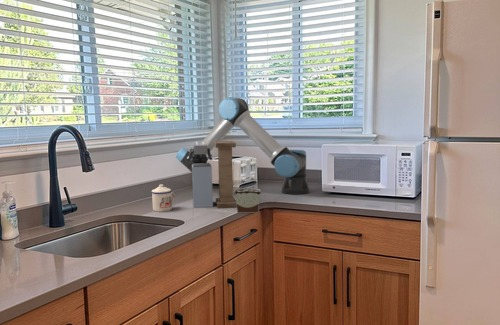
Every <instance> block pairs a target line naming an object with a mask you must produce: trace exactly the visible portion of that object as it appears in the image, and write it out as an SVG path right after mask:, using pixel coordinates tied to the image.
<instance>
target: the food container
mask: <svg viewBox="0 0 500 325" xmlns="http://www.w3.org/2000/svg"><path fill="white" fill-rule="evenodd" d="M233 195H234V199H235V200H236V206H237V207H236V212H237V214H239V213H240V214H244V213H246V214H249V213H250V214H251V213H252V214H256V213H257V214H259V211H260V210H259V209H260V200H261V199H260V198H261V195H262V191H261V189H259V188H255V187H243V188H237V189H234V190H233Z"/></svg>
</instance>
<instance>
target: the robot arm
mask: <svg viewBox="0 0 500 325" xmlns="http://www.w3.org/2000/svg"><path fill="white" fill-rule="evenodd" d="M218 105H219V106H218V113H219V115H220V116H219V117H221V120H220V122H218V123H217V124H216V125H215V127H214V128H212V130H211V131H210V132H209V133H208V134H207V135H206V136H205V137H204V139H202V141H201V142H200V143H199V142H198V141H195V145H205V144H207V153H208V154H194V148H190V149H189V150H188V149H186V148H185V147H183V148H181V149H179V151H178V152H177V153H176V154H175V158H176V159H177V160H178V161H179V162H180V164H182V165H183V166H184V167H185V168H187V169H188V171H190V172H191V173H192V165H193V163H208V160H210V161H213V154H211V151H212V150H214V148H216V147H215V146H214V142H216V141H223V138H225V137H226V136H227V134H228V133H229V132H230V131H231V130H232V129H233V128H237V127H238V128H239V129H240V130H241V131H242V132H244V134H245V135H246V136H247V137H248V138H249V139H250V140H251V141H252V142H253V143H254V144H255V145H256V146H257V147H258V148H259V149H260V150H261V151H262V152H263V153H264V154H265V155H266V156H267V157H268V158H269V161H270V162H269V163H270V164H271V165H272V166H273V167H274V171H275V172H276V173H277V175H278V176H281V177H282V178H284V179H283V183H282V186H281V192H282V193H283V194H287V195H303V194H308V193H310V186H309V183H308V180H307V152H306V151H305V150H303V149H289V148H288V147H287V146H282V145H281V144H280V143H279V142H278V141H277V140H276V139H274V137H272V135H271V134H270V133H269V132H267V130H266V129H264V128H263V127H262V125H261V124H260V123H258V121H256V119H255V118H254V117H253V116H251V111H250V110H249V104H248V103H247V101H245V99H243V98H239V97H238V98H236V97H226V98H223V100H221V101H220V103H219V104H218ZM198 143H199V144H198Z"/></svg>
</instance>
